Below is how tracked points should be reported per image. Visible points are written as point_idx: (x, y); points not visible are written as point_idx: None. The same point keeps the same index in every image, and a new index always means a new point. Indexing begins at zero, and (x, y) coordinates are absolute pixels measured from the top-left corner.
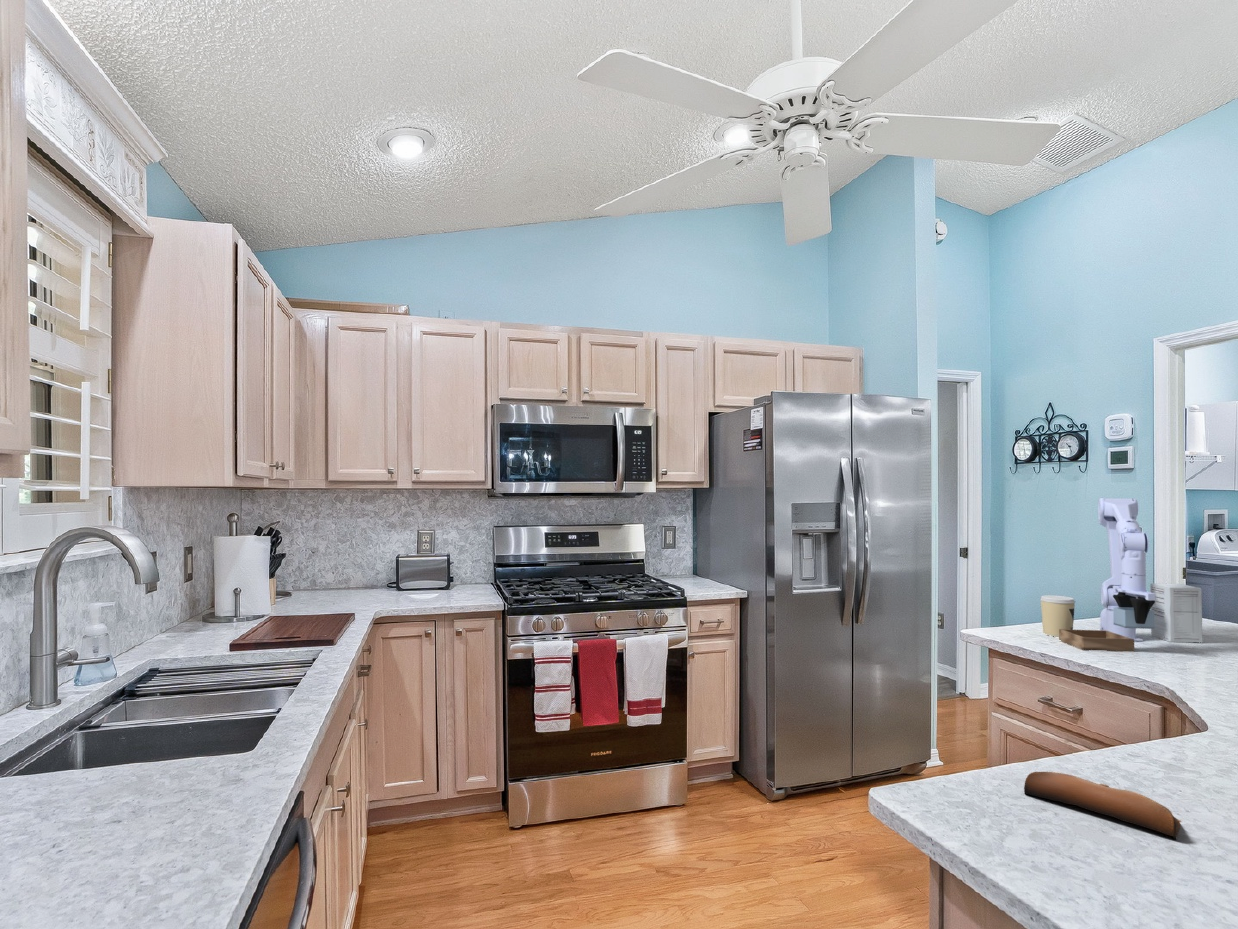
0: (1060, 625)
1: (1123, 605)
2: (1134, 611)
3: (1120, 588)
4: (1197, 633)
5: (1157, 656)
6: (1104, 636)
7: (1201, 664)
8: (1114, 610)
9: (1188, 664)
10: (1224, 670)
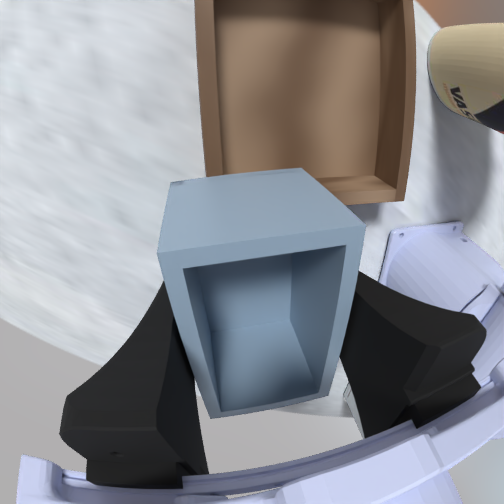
0: (462, 44)
1: (362, 323)
2: (168, 324)
3: (440, 473)
4: (353, 406)
5: (146, 247)
6: (382, 174)
7: (78, 318)
8: (336, 212)
9: (57, 285)
10: (35, 331)
